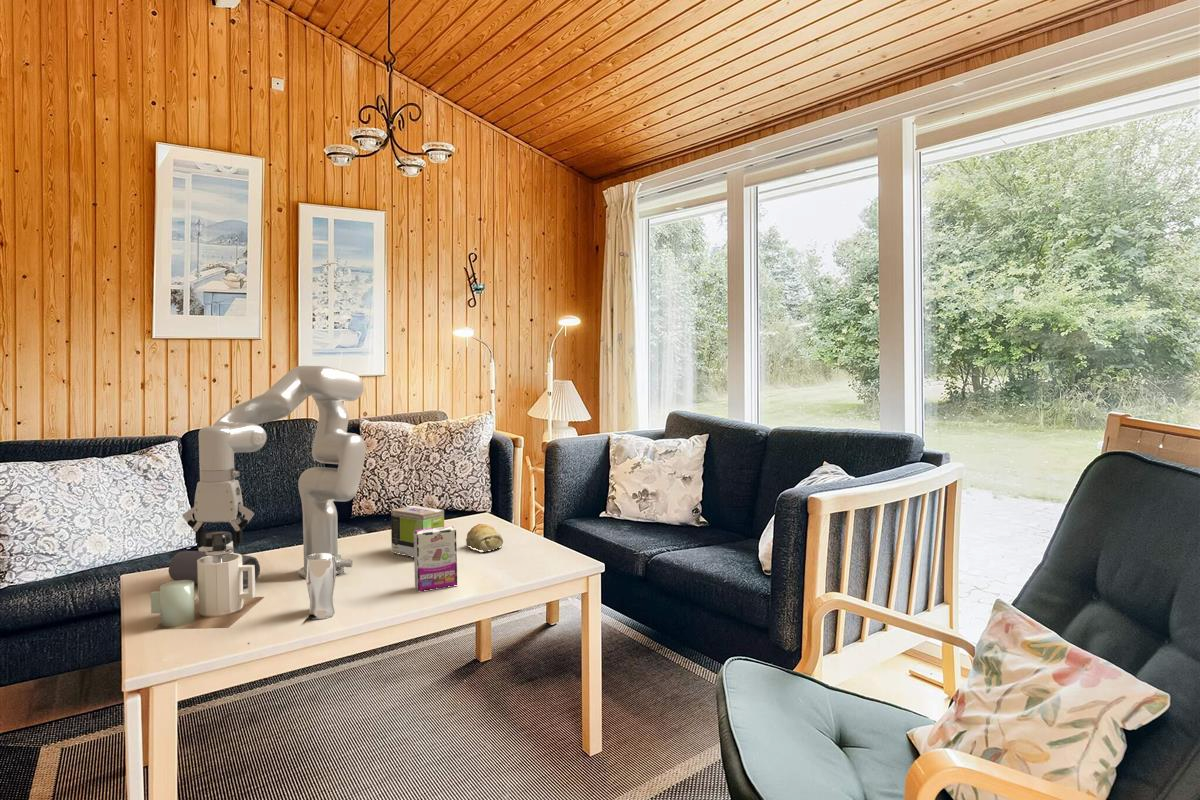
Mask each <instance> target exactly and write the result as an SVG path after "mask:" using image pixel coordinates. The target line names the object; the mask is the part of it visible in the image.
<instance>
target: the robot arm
mask: <svg viewBox="0 0 1200 800" xmlns="http://www.w3.org/2000/svg"><path fill="white" fill-rule="evenodd" d="M364 390H365V389H364V381H363V379H362V377H360V375H358V374H357V373H354V372H352V371H347V370H343V369H339V368H335V367H331V366H325V365H298V366H295V367H293V368H292V369H289V371H287V372H286V373H285V375H283V376H282V377H281V378H280V379H279V380H278V381H276V382H275V383H274V384H273V385H272V386H271V387H270V388H269V389H267V390H266V391H265V392H264V393H262V394H260V395H258V396H257V395H256V396H255V397H253V398H251V399H249V400H247V401H244V402H243V403H240V404H238V405H236V406H234V407H233V408H230V409H229V410H228V411H227V412H226V413H224V414H223V415H222V416H221V417H220V418H219V419H218V420H217V421H215V422H214V424H213V425H209V426H203V427H202V428H200V429H199V431H198V455H199V456H198V457H199V481H198V482H197V484H196V489H195V493H194V504H193V507H191V508H190V509H189V510H187V511H185V512H184V513H183V514H182V515H181V517H182V518H183V519H184V520H185V522H186V524H187V526H189V527H190V528H191V529H192V531H193V532H194V533H195V535H194V536H195V537H194V539H195V540H194V541H195V544H196V548H197V549H199V548H200V547H202V546H204V545H205V544H206V533H207V531H206V529H205V528H204V527H205V525H206V524H207V523H229V524H230V525H231V526H232V528H233V530H234V531H232V541H233V548H237V547H239V546H240V545H241V544H242V543H243V541H244V540H243V539H244V538H243V537H244V536H243V532H244V531H243V529H244V528H245V527H246V526H247V525H248V524H249V523H250V522H251V520H252V518H253V517H254V516H255V512H253V511H252V510H251V509H249V508H248V507H246V506H244V502H243V495H242V490H241V486H240V481H239V480H238V479H236V478H237V477H238V478H239V477H240V476H241V471H239V470H236V467H235V454H236V453H254V452H257V451H259V450H261V449H262V448H263V447H264V446H265V444H266V442H267V432H266V431H265V429H264V428H263V427H262V426H261V424H265V423H270V422H274V421H275V422H276V421H278V420H281V419H283V418H286V417H288V416H290V414H292V413H293V412H294V411H295V410H296V409H297V408H298V407H299V406H300V405H301V404H302V403H303V402H305V400H306V399H307V398H309V397H310V396H311V397H312V398H313V400H314V402H315V405H316V406H317V409H318V421H317V425H316V430H315V434H314V439H313V443H312V450H311V455H312V458H313V459H314V460H315V461H316V462H318V463H322V464H330V465H331V464H332V465H338V466H337V468H336V467H323V466H315V467H310V468H307V469H305V470H304V471H303V472H302V473H301V474H300V476H299V478H298V482H297V483H298V484H297V485H298V492H299V496H300V502H301V509H302V532H303V533H302V535H303V538H302V539H303V541H302V542H303V566H302V567H301V568H299V570H297V571H298V573H297V574H298V577H300V578H304V579H306V557H307V556H309V555H311V554H315V553H324V552H327V553H333V554H334V555H335V566H336V576H337V574H338V575H340V574H341V573H343V571H344V570H345V568H352V567H353V560H351V558H346V559H343V558H342V554H339V541H338V539H339V537H338V536H339V535H338V534H339V533H338V511H337V507H336V505H335V503H334V502H349V501H351V500H352V499H354V497H356V495H357V493H358V491H359V487H360V483H361V479H362V474H363V469H364V465H365V459H366V455H367V454H366V453H367V451H366V450H367V447H366V442H365V440H364V438H363V437H362V436H361V435H359V434H357V433H354V432H353V433H352V432H348V426H349V420H350V419H349V413H348V409H347V408H346V406H345V405H344V403H343V402H354V401H357V400H358V399H359V398H361V397H362V395H363V393H364ZM193 515H194V518H193ZM243 516H244V518H243V520H241V518H242V517H243Z"/></svg>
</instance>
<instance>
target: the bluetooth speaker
mask: <svg viewBox="0 0 1200 800" xmlns="http://www.w3.org/2000/svg"><path fill="white" fill-rule="evenodd" d="M241 555H242V565H255V583H256V582H257V580H258V578H259V576H260V573H261V567H260V563H259V560H258V559H257V558H256V557H253V556H251V555H245V554H241ZM205 556H208V555H206V551H199V550H185V551H184V550H183V551H179V552H177V553H175V554H174V555H173V556H172V559H171V560H170V563H169V567H168V576H169V577H170V579H171V580H172V581H178V580H191V581H194V585H197V586H198V581H197V560H198V559H200V558H202V557H205ZM244 588H248V571H243V589H244Z"/></svg>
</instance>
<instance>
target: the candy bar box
mask: <svg viewBox="0 0 1200 800" xmlns="http://www.w3.org/2000/svg"><path fill="white" fill-rule="evenodd" d="M457 547H458V545H457V529H456V528H455V527H454V526H453V525H451V526H449V525H448V526H444V527H439V528H431V529H423V530H415V531H414V559H413V560H414V561H413V562H414V563H413V564H414V565H413V566H414V587H416V588H417V589H416V588H415V589H416V591H417V592H418V591H422V592H425V591H424V590H429V591H431V590H430V589H435V590H437V589H436V588H441V589H444V588H443V587H448V586H454V585H457V586H458V559H457V552H458V551H457ZM454 587H455V586H454ZM448 588H449V587H448Z"/></svg>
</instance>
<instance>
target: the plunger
mask: <svg viewBox="0 0 1200 800" xmlns="http://www.w3.org/2000/svg"><path fill="white" fill-rule="evenodd" d="M216 532H217V533H213V534H212V546H213V548H209V549H207V550H206V555H208V556H217V559H218V563H222V555H226V554H230V553H232V552H233V553H234V547H231V546H226V532H227V531H226V532H218V531H216Z"/></svg>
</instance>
